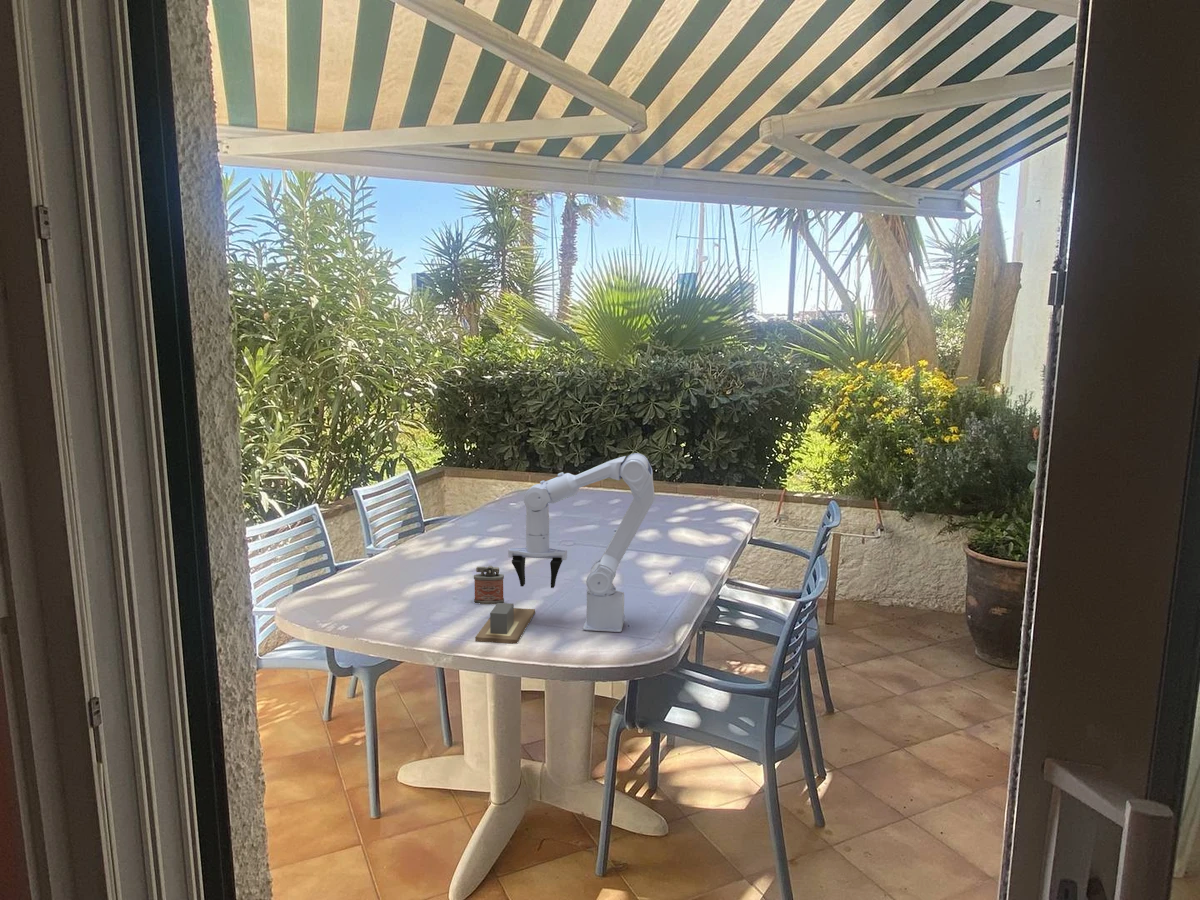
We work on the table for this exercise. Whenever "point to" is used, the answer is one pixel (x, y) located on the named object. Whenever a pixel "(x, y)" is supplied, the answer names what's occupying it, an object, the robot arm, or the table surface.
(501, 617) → the block
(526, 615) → the pin board
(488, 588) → the lighter
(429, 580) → the table surface
